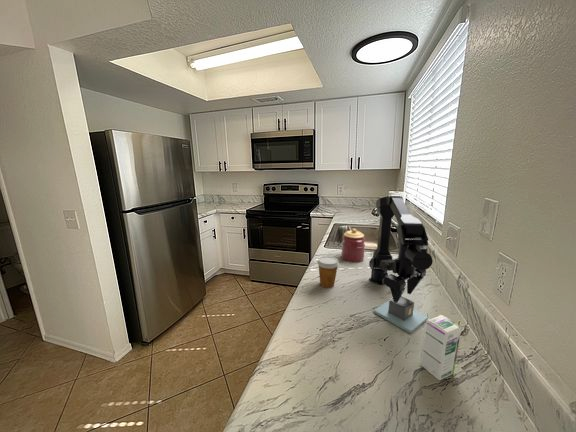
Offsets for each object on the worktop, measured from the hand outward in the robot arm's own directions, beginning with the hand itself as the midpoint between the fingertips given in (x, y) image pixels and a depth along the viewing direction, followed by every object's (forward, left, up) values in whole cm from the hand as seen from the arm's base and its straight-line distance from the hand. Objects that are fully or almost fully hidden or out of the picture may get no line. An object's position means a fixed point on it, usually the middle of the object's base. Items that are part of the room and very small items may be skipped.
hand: (402, 297), depth 86 cm
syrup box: (+18, -14, -8) cm, 24 cm away
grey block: (0, 0, -6) cm, 6 cm away
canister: (-45, +29, -8) cm, 54 cm away
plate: (0, 0, -7) cm, 7 cm away
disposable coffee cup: (-32, -5, -8) cm, 33 cm away
